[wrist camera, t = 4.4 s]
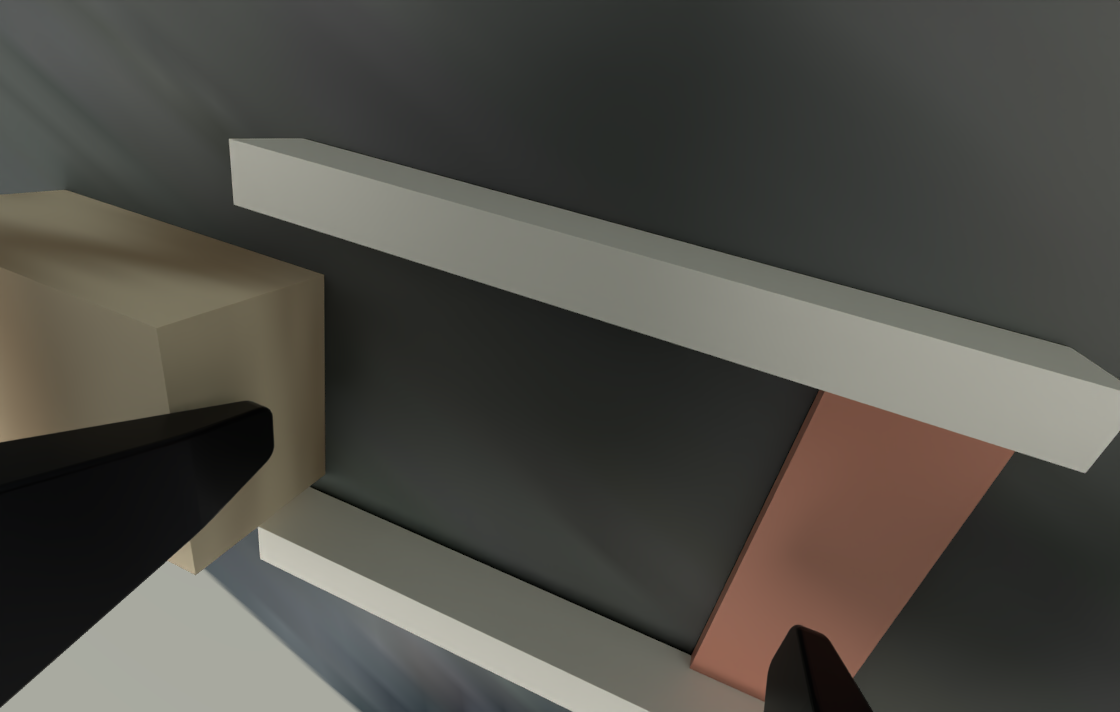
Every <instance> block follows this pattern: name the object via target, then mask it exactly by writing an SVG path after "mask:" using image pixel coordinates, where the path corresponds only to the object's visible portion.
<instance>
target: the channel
mask: <svg viewBox="0 0 1120 712" xmlns="http://www.w3.org/2000/svg"><path fill="white" fill-rule="evenodd" d="M229 148H230V161H231V174H232V188H233V201H234V205H237V206H240V207H243V208H246V209H249V210H253V211H256V212H259V213H262V214H265V215H268V216H272V217H275V218H278V219H281V220H284V221H287V222H291V223H294V224H297V225H300V226H303V227H306V228H310V229H313V230H316V231H319V232H322V233H325V234H329V235H332V236H335V237H338V238H341V239H344V240H348V241H351V242H354V243H357V244H360V245H363V246H367V247H370V248H373V249H376V250H379V251H382V252H386V253H389V254H392V255H395V256H398V257H401V258H405V259H408V260H411V261H414V262H417V263H420V264H424V265H427V266H430V267H433V268H436V269H439V270H443V271H446V272H449V273H452V274H455V275H458V276H462V277H465V278H468V279H471V280H474V281H478V282H481V283H484V284H487V285H490V286H493V287H497V288H500V289H503V290H506V291H509V292H512V293H516V294H519V295H522V296H525V297H528V298H531V299H535V300H538V301H541V302H544V303H547V304H550V305H554V306H557V307H560V308H563V309H566V310H569V311H573V312H576V313H579V314H582V315H585V316H588V317H592V318H595V319H598V320H601V321H604V322H607V323H611V324H614V325H617V326H620V327H623V328H626V329H630V330H633V331H636V332H639V333H642V334H645V335H649V336H652V337H655V338H658V339H661V340H664V341H668V342H671V343H674V344H677V345H680V346H683V347H687V348H690V349H693V350H696V351H699V352H702V353H706V354H709V355H712V356H715V357H718V358H722V359H725V360H728V361H731V362H734V363H737V364H741V365H744V366H747V367H750V368H753V369H756V370H760V371H763V372H766V373H769V374H772V375H775V376H779V377H782V378H785V379H788V380H791V381H794V382H798V383H801V384H804V385H807V386H810V387H813V388H817V389H819V391H818V394H817V396H816V398H815V400H814V402H813V404H812V406H811V408H810V410H809V412H808V414H807V416H806V418H805V420H804V423H803V425H802V427H801V429H800V431H799V433H798V435H797V437H796V439H795V441H794V443H793V445H792V447H791V450H790V452H789V454H788V456H787V458H786V460H785V462H784V464H783V466H782V468H781V470H780V472H779V474H778V476H777V479H776V481H775V483H774V485H773V487H772V489H771V491H770V493H769V495H768V497H767V499H766V501H765V503H764V506H763V508H762V510H761V512H760V514H759V516H758V518H757V520H756V522H755V524H754V526H753V528H752V530H751V532H750V535H749V537H748V539H747V541H746V543H745V545H744V547H743V549H742V551H741V553H740V555H739V557H738V559H737V562H736V564H735V566H734V568H733V570H732V572H731V574H730V576H729V578H728V580H727V582H726V584H725V586H724V588H723V591H722V593H721V595H720V597H719V599H718V601H717V603H716V605H715V607H714V609H713V611H712V613H711V615H710V618H709V620H708V622H707V624H706V626H705V628H704V630H703V632H702V634H701V636H700V638H699V640H698V642H697V644H696V647H695V649H694V651H693V653H692V655H689V654H687V653H684V652H682V651H680V650H678V649H675V648H673V647H671V646H669V645H666V644H664V643H662V642H660V641H657V640H655V639H653V638H650V637H648V636H646V635H644V634H641V633H639V632H637V631H635V630H632V629H630V628H628V627H626V626H623V625H621V624H619V623H617V622H614V621H612V620H610V619H607V618H605V617H603V616H601V615H598V614H596V613H594V612H592V611H589V610H587V609H585V608H583V607H580V606H578V605H576V604H574V603H571V602H569V601H567V600H564V599H562V598H560V597H558V596H555V595H553V594H551V593H549V592H546V591H544V590H542V589H540V588H537V587H535V586H533V585H530V584H528V583H526V582H524V581H521V580H519V579H517V578H515V577H512V576H510V575H508V574H506V573H503V572H501V571H499V570H497V569H494V568H492V567H490V566H487V565H485V564H483V563H481V562H478V561H476V560H474V559H472V558H469V557H467V556H465V555H463V554H460V553H458V552H456V551H454V550H451V549H449V548H447V547H444V546H442V545H440V544H438V543H435V542H433V541H431V540H429V539H426V538H424V537H422V536H420V535H417V534H415V533H413V532H410V531H408V530H406V529H404V528H401V527H399V526H397V525H395V524H392V523H390V522H388V521H386V520H383V519H381V518H379V517H377V516H374V515H372V514H370V513H367V512H365V511H363V510H361V509H358V508H356V507H354V506H352V505H349V504H347V503H345V502H343V501H340V500H338V499H336V498H334V497H331V496H329V495H327V494H324V493H322V492H320V491H318V490H315V489H313V488H311V487H308V488H307V489H306V490H304V491H303V492H302V493H300V494H299V495H298V496H297V497H295V498H294V499H293V500H291V501H290V502H289V503H288V504H286V505H285V506H284V507H282V508H281V509H280V510H279V511H277V512H276V513H275V514H273V515H272V516H271V517H270V518H268V519H267V520H266V521H265V522H263V523H262V524H261V525H259V526H258V535H259V548H260V559H262V560H264V561H266V562H268V563H270V564H272V565H274V566H276V567H278V568H280V569H282V570H284V571H286V572H288V573H290V574H292V575H294V576H296V577H298V578H300V579H303V580H305V581H307V582H309V583H311V584H313V585H315V586H317V587H319V588H321V589H323V590H325V591H327V592H329V593H331V594H333V595H335V596H337V597H339V598H341V599H343V600H346V601H348V602H350V603H352V604H354V605H356V606H358V607H360V608H362V609H364V610H366V611H368V612H370V613H372V614H374V615H376V616H378V617H380V618H382V619H384V620H386V621H389V622H391V623H393V624H395V625H397V626H399V627H401V628H403V629H405V630H407V631H409V632H411V633H413V634H415V635H417V636H419V637H421V638H423V639H425V640H427V641H429V642H431V643H434V644H436V645H438V646H440V647H442V648H444V649H446V650H448V651H450V652H452V653H454V654H456V655H458V656H460V657H462V658H464V659H466V660H468V661H470V662H472V663H474V664H477V665H479V666H481V667H483V668H485V669H487V670H489V671H491V672H493V673H495V674H497V675H499V676H501V677H503V678H505V679H507V680H509V681H511V682H513V683H515V684H517V685H520V686H522V687H524V688H526V689H528V690H530V691H532V692H534V693H536V694H538V695H540V696H542V697H544V698H546V699H548V700H550V701H552V702H554V703H556V704H558V705H560V706H563V707H565V708H567V709H569V710H571V711H573V712H764V703H765V693H766V682H767V674H768V669H769V666H770V663H771V660H772V658H773V657H774V655H775V653H776V652H777V650H778V648H779V646H780V645H781V643H782V641H783V640H784V638H785V636H786V635H787V633H788V631H789V630H790V628H791V627H792V626H794V625H796V624H798V625H802V626H805V627H807V628H810V629H812V630H815V631H817V632H819V633H822V634H824V635H825V636H826V637H827V638H828V639H829V640H830V641H831V643H832V645H833V646H834V648H835V650H836V651H837V653H838V654H839V656H840V658H841V659H842V661H843V663H844V664H845V666H846V668H847V669H848V671H849V673H850V674H851V676H852V678H853V677H854V676H855V674H856V673H857V671H858V670H859V669H860V667H861V666H862V664H863V663H864V662H865V660H866V659H867V657H868V656H869V655H870V653H871V652H872V651H873V649H874V648H875V646H876V645H877V644H878V642H879V641H880V639H881V638H882V637H883V635H884V634H885V632H886V631H887V630H888V628H889V627H890V625H891V624H892V623H893V621H894V620H895V618H896V617H897V616H898V614H899V613H900V611H901V610H902V609H903V607H904V606H905V604H906V603H907V602H908V600H909V599H910V597H911V596H912V595H913V593H914V592H915V590H916V589H917V588H918V586H919V585H920V583H921V582H922V581H923V579H924V578H925V576H926V575H927V574H928V572H929V571H930V569H931V568H932V567H933V565H934V564H935V563H936V561H937V560H938V558H939V557H940V556H941V554H942V553H943V551H944V550H945V549H946V547H947V546H948V544H949V543H950V542H951V540H952V539H953V537H954V536H955V535H956V533H957V532H958V530H959V529H960V528H961V526H962V525H963V523H964V522H965V521H966V519H967V518H968V516H969V515H970V514H971V512H972V511H973V509H974V508H975V507H976V505H977V504H978V502H979V501H980V500H981V498H982V497H983V495H984V494H985V493H986V491H987V490H988V488H989V487H990V486H991V484H992V483H993V481H994V480H995V479H996V477H997V476H998V474H999V473H1000V472H1001V470H1002V469H1003V468H1004V466H1005V465H1006V463H1007V462H1008V461H1009V459H1010V458H1011V456H1012V455H1013V454H1014V452H1015V451H1016V452H1019V453H1023V454H1026V455H1029V456H1032V457H1035V458H1038V459H1042V460H1045V461H1048V462H1051V463H1054V464H1057V465H1061V466H1064V467H1067V468H1070V469H1073V470H1076V471H1080V472H1083V473H1086V472H1087V471H1088V469H1089V468H1090V467H1091V466H1092V465H1093V463H1094V462H1095V461H1096V460H1097V458H1098V457H1099V456H1100V455H1101V453H1102V452H1103V451H1104V450H1105V448H1106V447H1107V446H1108V445H1109V443H1110V442H1111V441H1112V440H1113V439H1114V437H1115V436H1116V435H1117V434H1118V432H1119V431H1120V380H1118V379H1117V378H1115V377H1114V376H1113V375H1111V374H1110V373H1108V372H1107V371H1105V370H1104V369H1102V368H1101V367H1099V366H1098V365H1096V364H1095V363H1093V362H1092V361H1090V360H1089V359H1087V358H1086V357H1084V356H1083V355H1081V354H1080V353H1078V352H1077V351H1075V350H1074V349H1072V348H1071V347H1067V346H1063V345H1060V344H1056V343H1052V342H1049V341H1045V340H1041V339H1038V338H1034V337H1030V336H1027V335H1023V334H1019V333H1016V332H1012V331H1008V330H1005V329H1001V328H997V327H994V326H990V325H986V324H983V323H979V322H975V321H972V320H968V319H964V318H961V317H957V316H953V315H950V314H946V313H942V312H939V311H935V310H931V309H928V308H924V307H920V306H917V305H913V304H909V303H906V302H902V301H898V300H895V299H891V298H887V297H884V296H880V295H876V294H873V293H869V292H865V291H862V290H858V289H854V288H850V287H847V286H843V285H839V284H836V283H832V282H828V281H825V280H821V279H817V278H814V277H810V276H806V275H803V274H799V273H795V272H792V271H788V270H784V269H781V268H777V267H773V266H770V265H766V264H762V263H759V262H755V261H751V260H748V259H744V258H740V257H737V256H733V255H729V254H726V253H722V252H718V251H715V250H711V249H707V248H704V247H700V246H696V245H693V244H689V243H685V242H682V241H678V240H674V239H671V238H667V237H663V236H660V235H656V234H652V233H649V232H645V231H641V230H638V229H634V228H630V227H627V226H623V225H619V224H616V223H612V222H608V221H605V220H601V219H597V218H594V217H590V216H586V215H583V214H579V213H575V212H572V211H568V210H564V209H561V208H557V207H553V206H550V205H546V204H542V203H539V202H535V201H531V200H527V199H524V198H520V197H516V196H513V195H509V194H505V193H502V192H498V191H494V190H491V189H487V188H483V187H480V186H476V185H472V184H469V183H465V182H461V181H458V180H454V179H450V178H447V177H443V176H439V175H436V174H432V173H428V172H425V171H421V170H417V169H414V168H410V167H406V166H403V165H399V164H395V163H392V162H388V161H384V160H381V159H377V158H373V157H370V156H366V155H362V154H359V153H355V152H351V151H348V150H344V149H340V148H337V147H333V146H329V145H326V144H322V143H318V142H315V141H311V140H307V139H304V138H248V139H229Z"/></svg>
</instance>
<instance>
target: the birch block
mask: <svg viewBox="0 0 1120 712" xmlns="http://www.w3.org/2000/svg"><path fill="white" fill-rule="evenodd" d="M239 401H253V402H255V403H258V404H260V405H263V406H265V407H267V408H269V409H270V410H271V412H272V415H273V428H274V450H273V453H272V455H271V457H270V459H269V460H268V461H267V462H266V463H265V464H264V465H263V467H262V468H261V469H260V470H259V471H258V472H257V473H256V474H255V475H254V476H253V477H252V478H251V479H250V480H249V481H248V482H247V483H246V484H245V485H244V486H243V488H242V489H241V490H240V491H239V492H238V493H237V494H236V495H235V496H234V497H233V498H232V499H231V500H230V501H229V502H228V503H227V504H226V505H225V506H224V507H223V509H222V510H221V511H220V512H219V513H218V514H217V515H216V516H215V517H214V518H213V519H212V520H211V521H210V522H209V523H208V524H207V525H206V526H205V527H204V528H203V529H202V530H201V531H200V532H199V533H198V534H197V535H195V536H194V537H193V538H192V539H191V540H190V541H189V542H188V543H187V544H186V545H184V546H183V547H182V548H181V549H180V550H179V551H178V552H176V553H175V554H174V555H173V556H172V557H171V558H170V559H169V560H167V561H169V562H171V563H173V564H175V565H177V566H179V567H181V568H183V569H185V570H187V571H188V572H191V573H192V574H194V575H196V574H198V573H199V572H200V571H202V570H203V569H204V568H205V567H207V566H208V565H209V564H211V563H212V562H213V561H214V560H216V559H217V558H218V557H220V556H221V555H222V554H223V553H225V552H226V551H227V550H229V549H230V548H231V547H232V546H234V545H235V544H236V543H238V542H239V541H240V540H241V539H243V538H244V537H245V536H247V535H248V534H249V533H250V532H252V531H253V530H254V529H256V528H257V527H258V526H259V525H261V524H262V523H263V522H265V521H266V520H267V519H268V518H270V517H271V516H272V515H273V514H275V513H276V512H277V511H279V510H280V509H281V508H282V507H284V506H285V505H286V504H288V503H289V502H290V501H291V500H293V499H294V498H295V497H297V496H298V495H299V494H300V493H302V492H303V491H304V490H306V489H307V488H308V487H309V486H311V485H312V484H313V483H315V482H316V481H317V480H318V479H320V478H321V477H322V476H324V475H325V341H324V275H323V274H320V273H317V272H314V271H311V270H308V269H305V268H302V267H299V266H296V265H293V264H289V263H286V262H283V261H280V260H277V259H274V258H271V257H268V256H265V255H262V254H259V253H256V252H253V251H250V250H247V249H244V248H241V247H238V246H235V245H232V244H229V243H226V242H223V241H220V240H216V239H213V238H210V237H207V236H204V235H201V234H198V233H195V232H192V231H189V230H186V229H183V228H180V227H177V226H174V225H171V224H168V223H165V222H162V221H159V220H156V219H153V218H150V217H147V216H144V215H140V214H137V213H134V212H131V211H128V210H125V209H122V208H119V207H116V206H113V205H110V204H107V203H104V202H101V201H98V200H95V199H92V198H89V197H86V196H83V195H80V194H77V193H74V192H71V191H67V190H56V191H43V192H30V193H17V194H3V195H0V442H5V441H10V440H16V439H22V438H28V437H34V436H40V435H46V434H51V433H57V432H63V431H69V430H75V429H81V428H87V427H93V426H98V425H104V424H110V423H116V422H122V421H128V420H134V419H140V418H145V417H151V416H157V415H163V414H169V413H175V412H181V411H187V410H192V409H198V408H204V407H210V406H216V405H222V404H228V403H233V402H239Z"/></svg>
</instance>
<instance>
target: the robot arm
mask: <svg viewBox="0 0 1120 712" xmlns="http://www.w3.org/2000/svg"><path fill="white" fill-rule="evenodd" d="M273 450H274V428H273V415H272V412H271V410H270V409H269V408H267V407H265V406H263V405H260V404H258V403H255V402H253V401H239V402H233V403H228V404H222V405H216V406H210V407H204V408H198V409H192V410H187V411H181V412H175V413H169V414H163V415H157V416H151V417H145V418H140V419H134V420H128V421H122V422H116V423H110V424H104V425H98V426H93V427H87V428H81V429H75V430H69V431H63V432H57V433H51V434H46V435H40V436H34V437H28V438H22V439H16V440H10V441H5V442H0V708H1V707H2V706H3V705H4V704H5V703H6V702H8V701H9V700H10V699H11V698H12V697H13V696H14V695H16V694H17V693H18V692H19V691H20V690H21V689H22V688H23V687H25V685H27V684H28V683H29V682H30V681H31V680H32V679H34V678H35V677H36V676H37V675H38V674H39V673H40V672H42V671H43V670H44V669H45V668H46V667H47V666H48V665H50V663H52V662H53V661H54V660H55V659H56V658H57V657H59V656H60V655H61V654H62V653H63V652H64V651H65V650H66V649H68V648H69V647H70V646H71V645H72V644H73V643H74V642H75V641H77V640H78V639H79V638H80V637H81V636H82V635H84V633H86V632H87V631H88V630H89V629H90V628H91V627H92V626H94V625H95V624H96V623H97V622H98V621H99V620H101V619H102V618H103V617H104V616H105V615H106V614H107V613H108V612H110V611H111V610H112V609H113V608H114V607H115V606H116V605H117V604H119V603H120V602H121V601H122V600H123V599H124V598H125V597H126V596H128V595H129V594H130V593H131V592H132V591H133V590H134V589H135V588H137V587H138V586H139V585H140V584H141V583H142V582H144V581H145V580H146V579H147V578H148V577H149V576H150V575H151V574H153V573H154V572H155V571H156V570H157V569H158V568H159V567H161V566H162V565H163V564H164V563H165V562H166V561H167V560H169V559H170V558H171V557H172V556H173V555H174V554H175V553H176V552H178V551H179V550H180V549H181V548H182V547H183V546H184V545H186V544H187V543H188V542H189V541H190V540H191V539H192V538H193V537H194V536H195V535H197V534H198V533H199V532H200V531H201V530H202V529H203V528H204V527H205V526H206V525H207V524H208V523H209V522H210V521H211V520H212V519H213V518H214V517H215V516H216V515H217V514H218V513H219V512H220V511H221V510H222V509H223V507H224V506H225V505H226V504H227V503H228V502H229V501H230V500H231V499H232V498H233V497H234V496H235V495H236V494H237V493H238V492H239V491H240V490H241V489H242V488H243V486H244V485H245V484H246V483H247V482H248V481H249V480H250V479H251V478H252V477H253V476H254V475H255V474H256V473H257V472H258V471H259V470H260V469H261V468H262V467H263V465H264V464H265V463H266V462H267V461H268V460H269V459H270V457H271V455H272V453H273ZM764 712H873V711H872V709H871V707H870V706H869V704H868V702H867V701H866V699H865V697H864V696H863V694H862V692H861V691H860V689H859V687H858V686H857V684H856V682H855V681H854V679H853V678H852V676H851V674H850V673H849V671H848V669H847V668H846V666H845V664H844V663H843V661H842V659H841V658H840V656H839V654H838V653H837V651H836V650H835V648H834V646H833V645H832V643H831V641H830V640H829V639H828V638H827V637H826V636H825V635H824V634H822V633H819V632H817V631H815V630H812V629H810V628H807V627H805V626H802V625H798V624H796V625H794V626H792V627H791V628H790V630H789V631H788V633H787V635H786V636H785V638H784V640H783V641H782V643H781V645H780V646H779V648H778V650H777V652H776V653H775V655H774V657H773V658H772V660H771V663H770V666H769V669H768V674H767V682H766V693H765V703H764Z"/></svg>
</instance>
